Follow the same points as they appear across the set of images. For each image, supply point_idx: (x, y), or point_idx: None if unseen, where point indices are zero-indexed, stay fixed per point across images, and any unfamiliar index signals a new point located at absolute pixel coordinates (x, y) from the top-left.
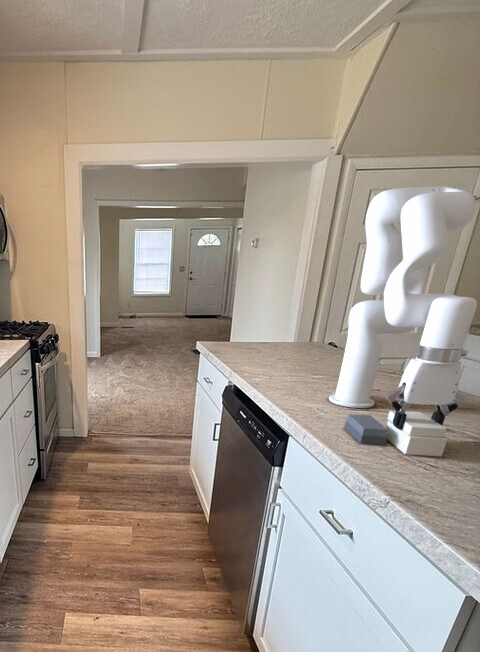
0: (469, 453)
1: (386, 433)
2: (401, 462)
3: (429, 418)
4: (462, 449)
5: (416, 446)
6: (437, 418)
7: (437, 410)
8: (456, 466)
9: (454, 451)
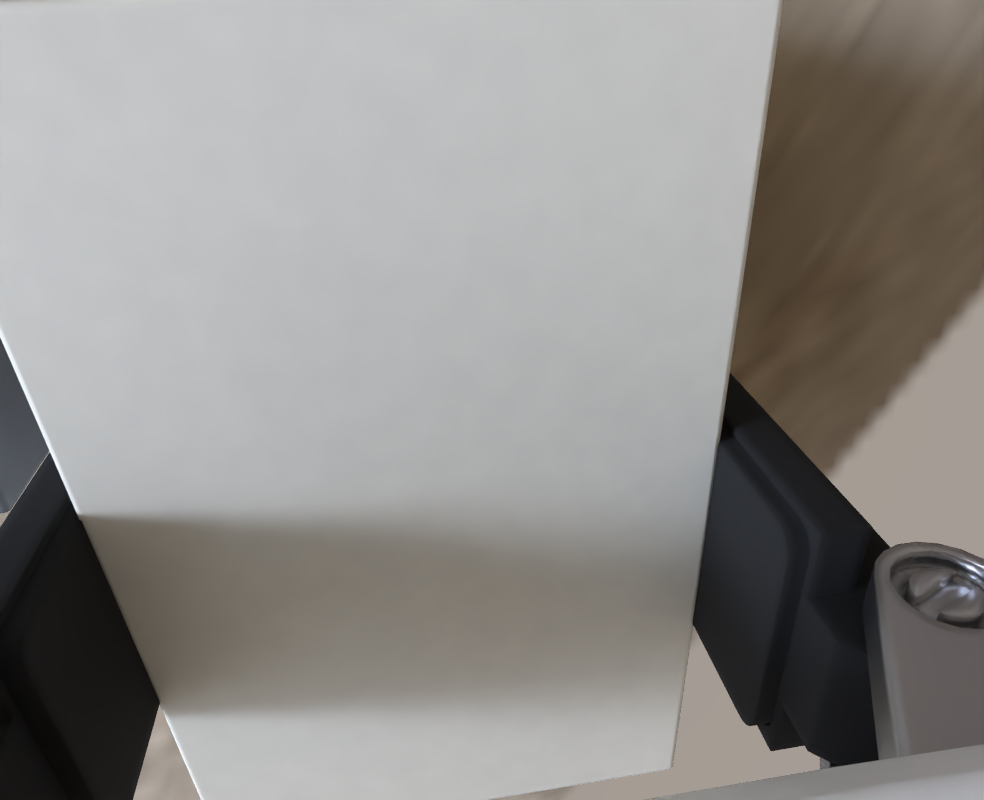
0: (912, 358)
1: (25, 471)
2: None
3: (692, 445)
4: (929, 266)
5: None
6: (727, 637)
7: (845, 658)
8: None
9: (806, 344)
